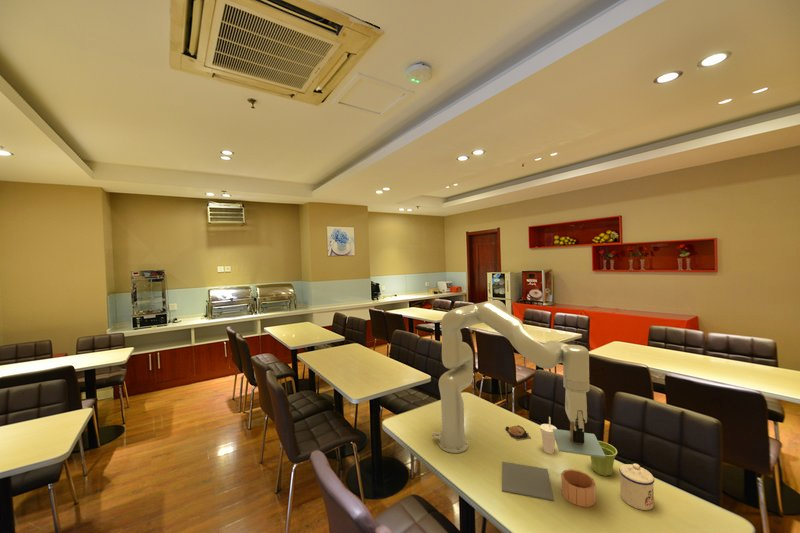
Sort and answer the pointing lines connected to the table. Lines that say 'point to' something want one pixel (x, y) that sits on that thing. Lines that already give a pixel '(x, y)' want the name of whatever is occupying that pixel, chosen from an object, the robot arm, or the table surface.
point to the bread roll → (517, 433)
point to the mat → (526, 481)
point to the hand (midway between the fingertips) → (577, 437)
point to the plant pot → (604, 460)
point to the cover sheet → (579, 449)
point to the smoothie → (548, 437)
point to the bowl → (578, 488)
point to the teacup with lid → (637, 486)
